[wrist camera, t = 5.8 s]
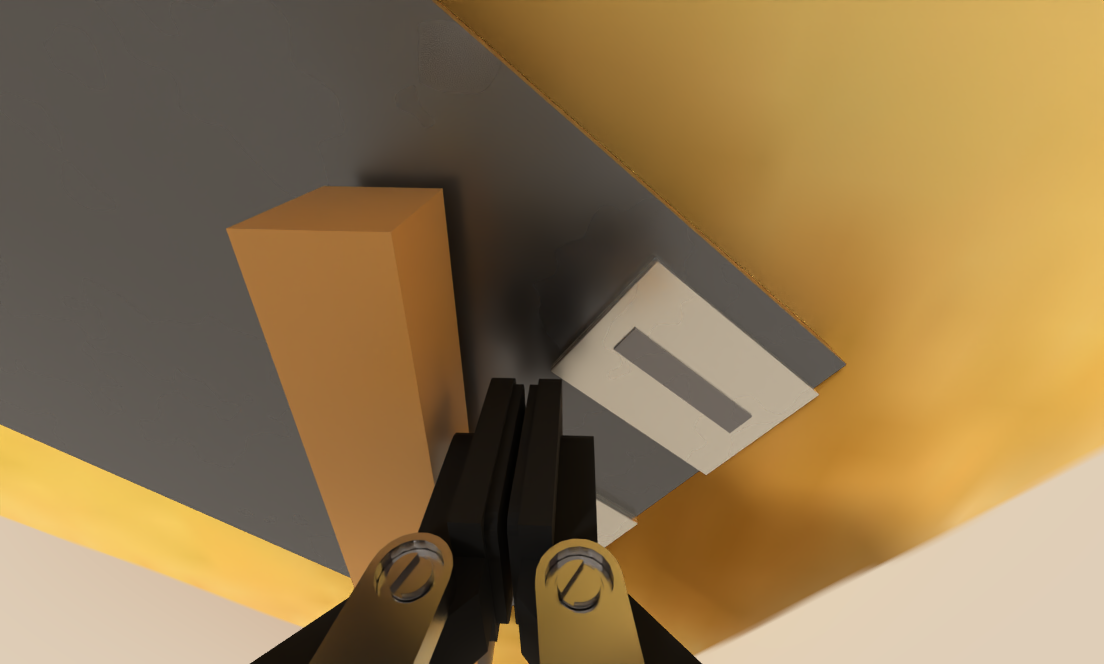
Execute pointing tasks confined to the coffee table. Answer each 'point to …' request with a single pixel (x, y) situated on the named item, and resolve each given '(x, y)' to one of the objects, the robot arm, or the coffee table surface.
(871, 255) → the coffee table surface
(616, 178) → the tray
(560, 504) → the robot arm
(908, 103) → the coffee table surface
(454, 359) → the bar
